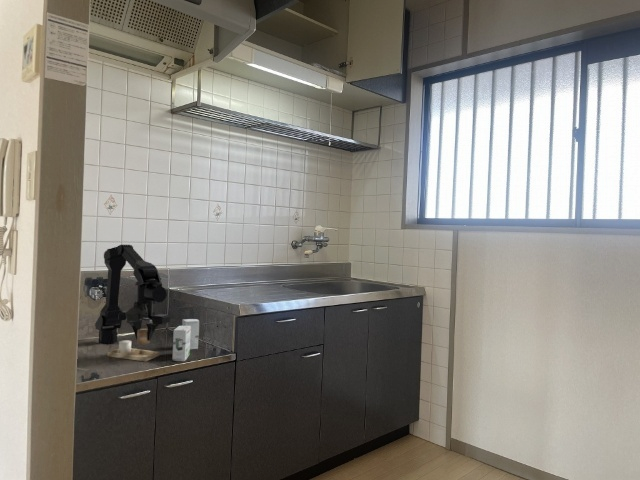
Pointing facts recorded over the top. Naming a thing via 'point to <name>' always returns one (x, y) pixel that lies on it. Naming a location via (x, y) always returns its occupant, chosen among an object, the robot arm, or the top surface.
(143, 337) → the brown egg
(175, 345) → the ink box
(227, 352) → the top surface
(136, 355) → the egg tray
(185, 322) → the skincare box
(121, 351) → the cream egg
